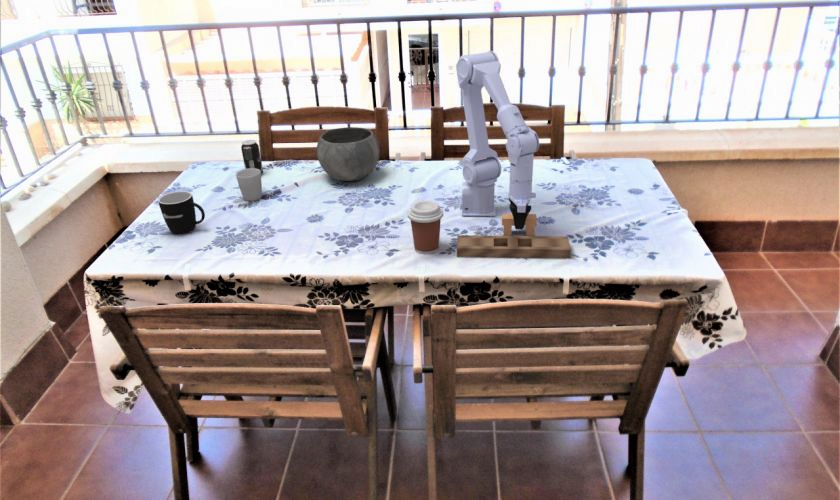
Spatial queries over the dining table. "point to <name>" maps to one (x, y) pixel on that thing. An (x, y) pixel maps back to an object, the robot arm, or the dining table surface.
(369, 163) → the bowl
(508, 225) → the clip
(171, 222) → the mug
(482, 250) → the rail
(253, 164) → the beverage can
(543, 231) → the dining table surface
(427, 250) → the coffee cup
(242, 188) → the cup
